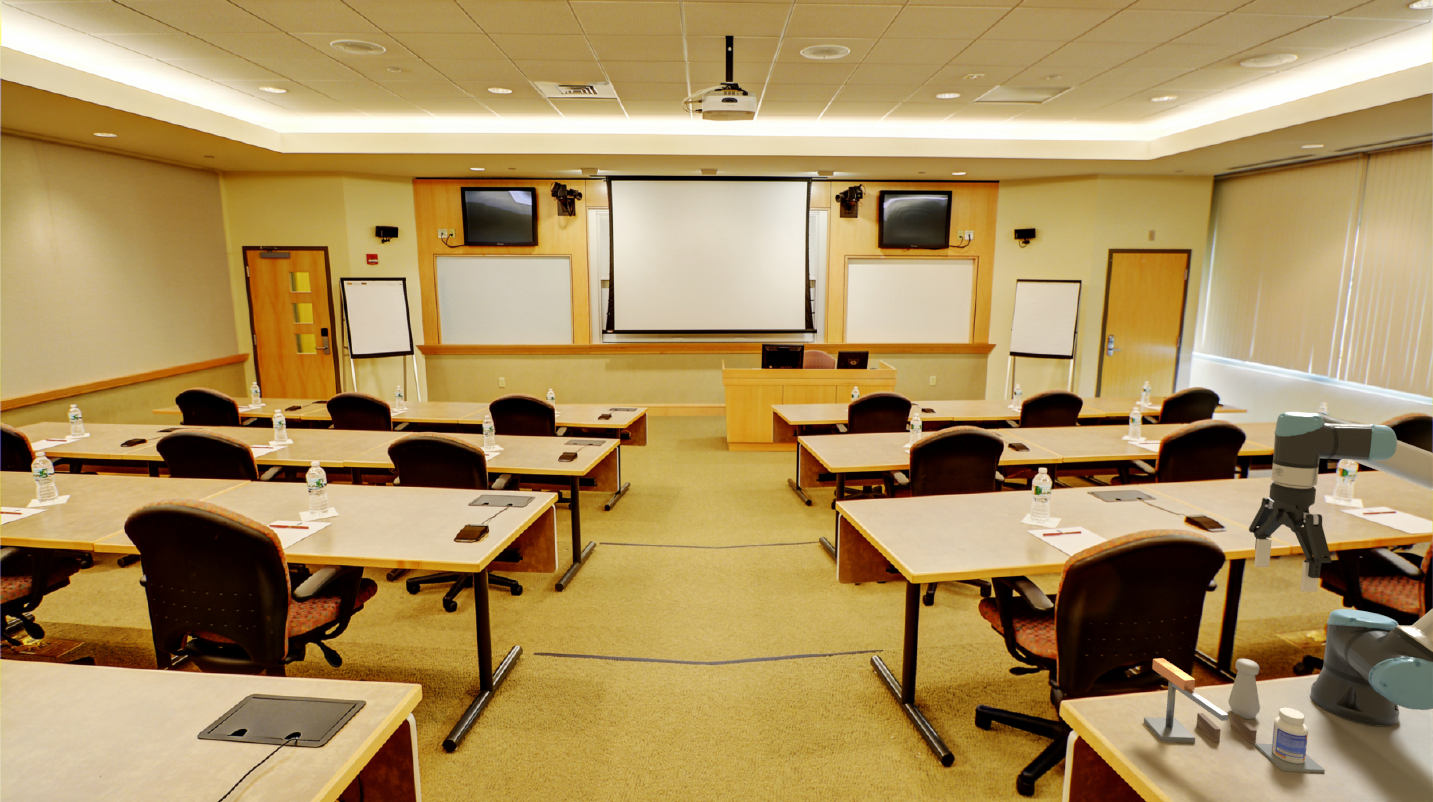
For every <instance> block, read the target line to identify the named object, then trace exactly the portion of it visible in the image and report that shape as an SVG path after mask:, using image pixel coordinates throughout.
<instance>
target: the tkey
mask: <svg viewBox="0 0 1433 802" xmlns="http://www.w3.org/2000/svg"><path fill="white" fill-rule="evenodd" d="M1152 670H1153V671H1155V672H1156V673H1158V674H1159V675H1160V676H1162V677H1163V678H1164V679H1167V680H1168V684H1167V685H1168V688H1167V697H1166V698H1167V699H1166V712H1165V713H1166V714H1165V718H1166V723H1165V725H1166V727H1169V728H1173V720H1174V718H1175V717H1174V716H1175V704H1176V692H1177V691H1178V692H1179V693H1181V694H1183V695H1184V696H1185V697H1187V698H1188V699H1190V700H1191V701H1193V702H1194V703H1195V704H1197V706H1200V707H1201V708H1202V709H1204V710H1206V711H1207V712H1208V713H1210V714H1211V715H1213V716H1214V717H1215V718H1217V719H1218V720H1220V721H1221V722H1225V721H1228V720H1229V714H1228V713H1227V712H1225V711H1224V710H1223V709H1221V708H1220V707H1218V706H1217V705H1215V704H1213V703H1212V702H1210V701H1209V700H1208V699H1206V698H1204V696H1202V695H1200V694H1199V693H1197V692H1195V691H1194V690H1195V688H1196V687H1195V686H1196V679H1195V678H1194V677H1192V676H1191V675H1189V674H1188V673H1186V672H1184V671H1183V670H1182V669H1180V668H1179V667H1177V666H1176V665H1174V664H1173V663H1170V661H1167V659H1165V658H1163V657H1162V658H1153V659H1152Z"/></svg>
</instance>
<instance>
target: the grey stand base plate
mask: <svg viewBox="0 0 1433 802" xmlns="http://www.w3.org/2000/svg"><path fill="white" fill-rule="evenodd" d="M1165 723H1166V717H1143V724H1144V725H1145V726H1146V727H1147V728H1148V729H1149V730H1150V731H1151V732H1152V733H1153V734H1154V735H1155V737H1157V739H1158V740H1159V741H1160V742H1163V743H1187V744H1188V743H1191V744H1192V743H1194V744H1195V743H1196V737H1195V736H1194V735H1193V734H1192V732H1190V731H1189V730H1188V728H1187V727H1185V725H1184V724H1182V723H1181V721H1179V719H1177V718H1176V717H1174V720H1173V728H1169V727H1166V725H1165Z"/></svg>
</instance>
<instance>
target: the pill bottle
mask: <svg viewBox="0 0 1433 802" xmlns="http://www.w3.org/2000/svg"><path fill="white" fill-rule="evenodd" d="M1308 734H1309V728H1308V727H1307V725H1306V724H1305V714H1304V713H1302V712H1301V711H1299V710H1297V709H1294V708H1291V707H1281V708H1279V712H1278V716H1277V717H1275V718H1274V721H1273V734H1272V743H1271V744H1272V752H1273V753H1274V754H1275V755H1276V756H1277V757H1278V758H1280V759H1282V760H1285V761H1287V762H1291V763H1296V764H1300V763H1303V762H1304V761H1305V758H1306V755H1307V746H1308V744H1307V743H1308V736H1309V735H1308Z"/></svg>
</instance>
